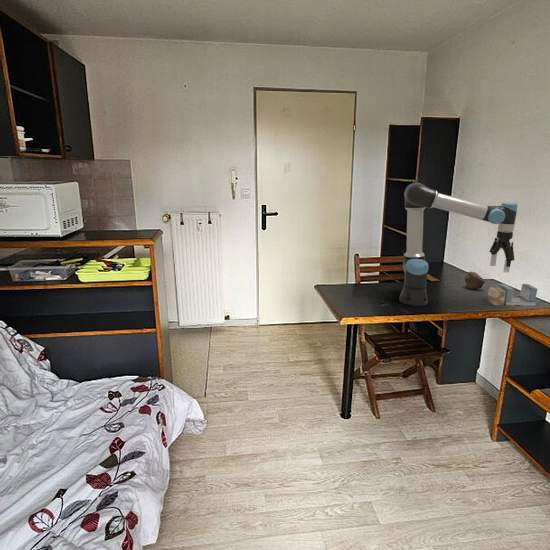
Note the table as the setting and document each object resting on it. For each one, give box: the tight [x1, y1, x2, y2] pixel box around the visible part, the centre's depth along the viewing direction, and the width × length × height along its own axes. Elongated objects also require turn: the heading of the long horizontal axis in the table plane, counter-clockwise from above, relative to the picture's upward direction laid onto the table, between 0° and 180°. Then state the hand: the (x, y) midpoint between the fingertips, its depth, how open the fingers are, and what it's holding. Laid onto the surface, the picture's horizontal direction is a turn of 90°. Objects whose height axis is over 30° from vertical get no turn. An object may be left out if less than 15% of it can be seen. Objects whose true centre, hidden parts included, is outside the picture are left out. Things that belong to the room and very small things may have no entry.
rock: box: [464, 271, 486, 290], centre depth 248 cm, size 12×10×10 cm
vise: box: [504, 283, 538, 307], centre depth 224 cm, size 16×11×10 cm
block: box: [487, 286, 506, 306], centre depth 223 cm, size 5×8×8 cm, turn 179°
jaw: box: [498, 283, 515, 302], centre depth 224 cm, size 4×9×8 cm, turn 179°
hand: (499, 268), depth 222 cm, fingers open, 13 cm apart
